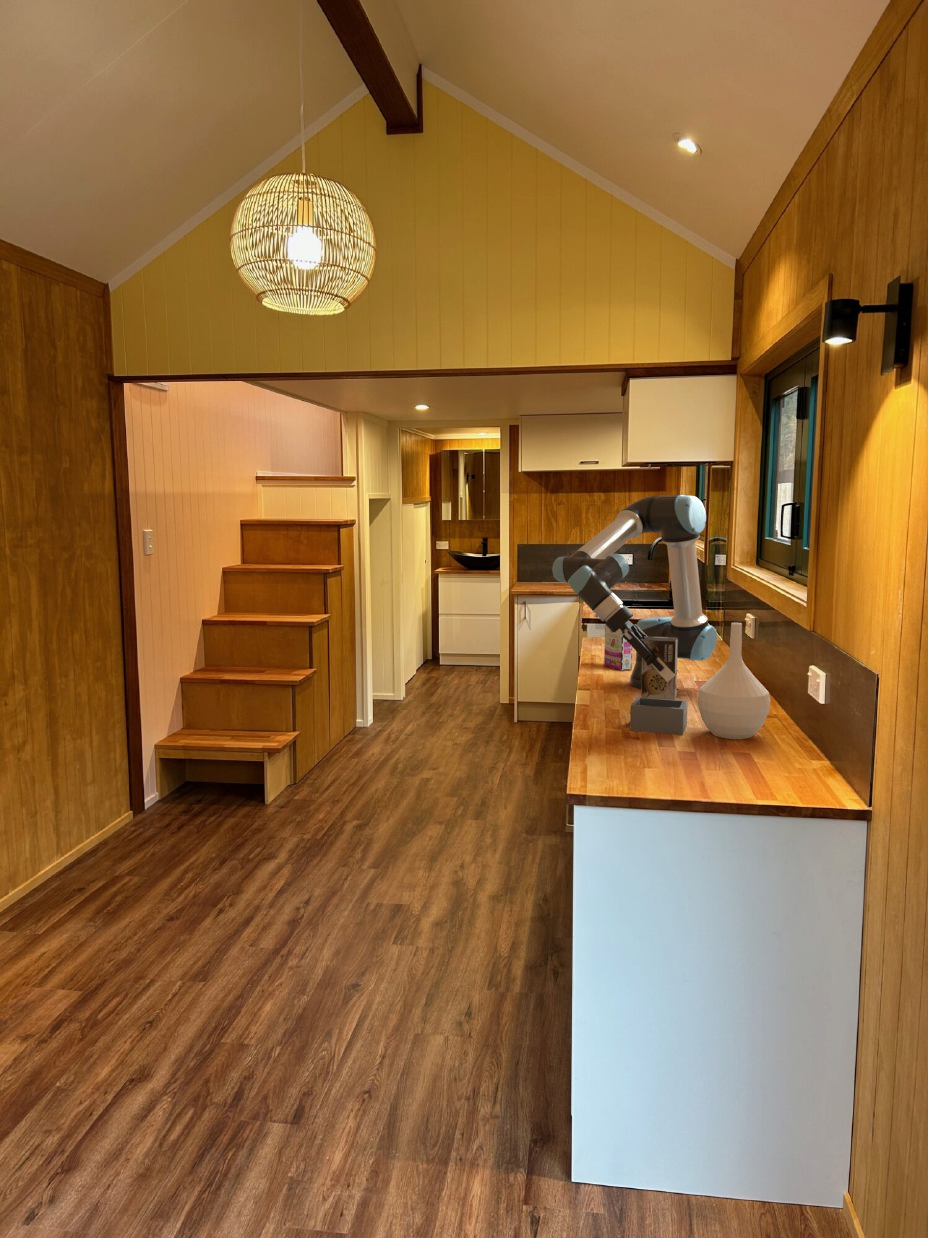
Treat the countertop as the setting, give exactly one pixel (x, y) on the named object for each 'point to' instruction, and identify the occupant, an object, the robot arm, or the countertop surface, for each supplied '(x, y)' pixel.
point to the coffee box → (651, 679)
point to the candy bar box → (617, 651)
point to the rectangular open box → (658, 715)
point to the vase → (734, 696)
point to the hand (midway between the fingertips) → (672, 676)
